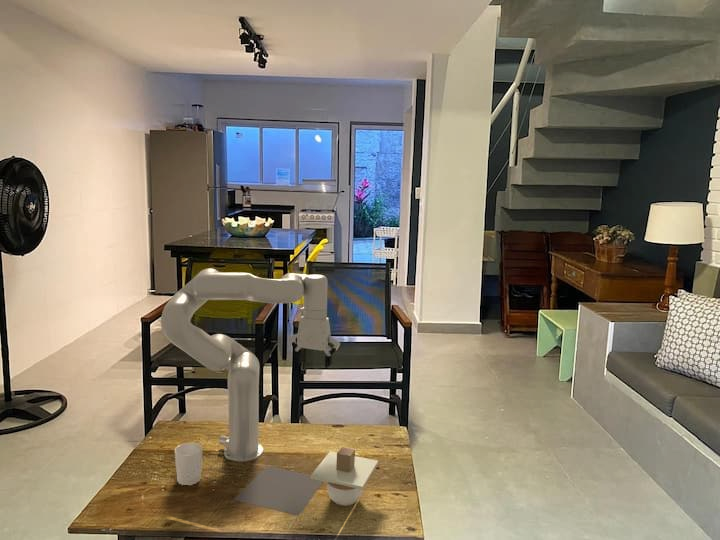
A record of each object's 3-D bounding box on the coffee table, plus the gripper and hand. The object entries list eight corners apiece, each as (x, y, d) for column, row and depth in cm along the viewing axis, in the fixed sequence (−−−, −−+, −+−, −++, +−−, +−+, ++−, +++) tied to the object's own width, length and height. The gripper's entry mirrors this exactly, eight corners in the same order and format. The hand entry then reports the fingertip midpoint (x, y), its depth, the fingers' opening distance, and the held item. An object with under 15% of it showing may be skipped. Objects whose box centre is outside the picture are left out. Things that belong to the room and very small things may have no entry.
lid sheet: (310, 478, 155) (310, 458, 154) (330, 453, 169) (330, 435, 168) (362, 489, 151) (363, 469, 150) (378, 463, 165) (379, 444, 164)
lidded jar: (359, 514, 155) (360, 483, 154) (321, 508, 158) (322, 477, 156) (366, 493, 166) (367, 463, 164) (331, 488, 168) (332, 458, 166)
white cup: (208, 477, 171) (207, 446, 170) (190, 489, 164) (189, 458, 162) (188, 470, 175) (187, 440, 173) (169, 482, 167) (168, 451, 166)
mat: (233, 501, 159) (233, 499, 159) (266, 467, 178) (266, 465, 178) (298, 517, 153) (298, 515, 153) (325, 480, 172) (325, 478, 172)
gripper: (285, 313, 180) (284, 364, 183) (336, 319, 175) (334, 372, 178) (295, 307, 187) (294, 357, 190) (344, 313, 182) (342, 364, 185)
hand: (313, 364), depth 184 cm, fingers open, 9 cm apart
